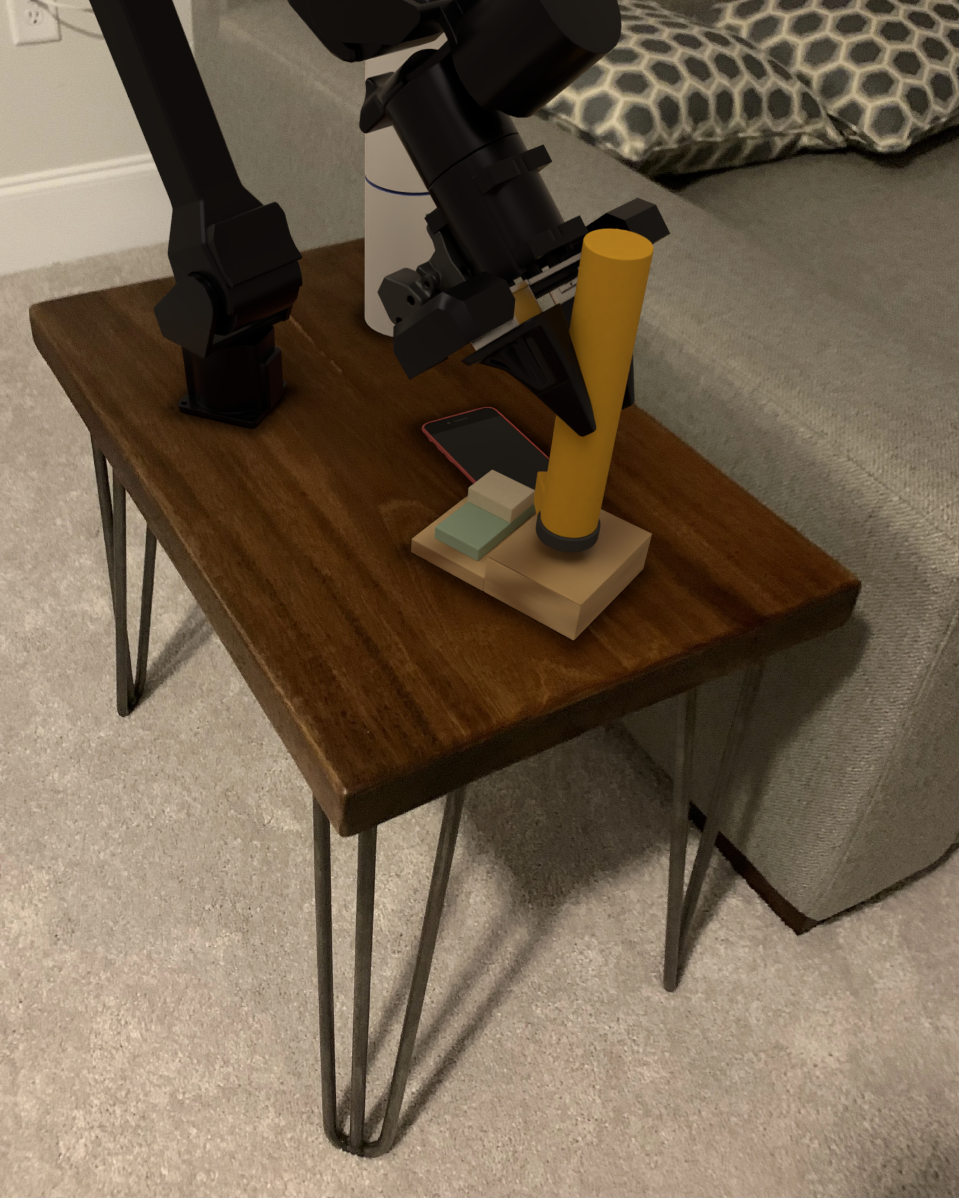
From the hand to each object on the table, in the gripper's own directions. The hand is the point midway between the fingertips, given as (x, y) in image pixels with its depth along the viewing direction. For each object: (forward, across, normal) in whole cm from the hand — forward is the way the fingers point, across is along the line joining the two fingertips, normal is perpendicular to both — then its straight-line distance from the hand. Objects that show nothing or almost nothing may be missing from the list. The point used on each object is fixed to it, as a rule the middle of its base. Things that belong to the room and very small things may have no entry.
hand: (608, 420), depth 59 cm
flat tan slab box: (+6, 0, -12) cm, 14 cm away
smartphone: (+1, -8, -19) cm, 20 cm away
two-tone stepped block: (+3, 0, -14) cm, 15 cm away
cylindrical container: (-13, -19, -33) cm, 40 cm away
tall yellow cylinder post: (+5, 0, -7) cm, 9 cm away
